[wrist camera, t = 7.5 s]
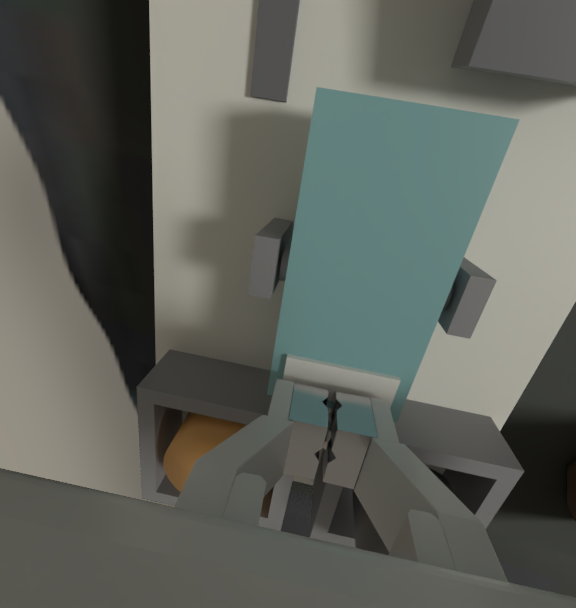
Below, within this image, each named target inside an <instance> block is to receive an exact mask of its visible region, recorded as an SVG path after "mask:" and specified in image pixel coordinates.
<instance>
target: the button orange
mask: <svg viewBox="0 0 576 608" xmlns="http://www.w3.org/2000/svg"><path fill="white" fill-rule="evenodd" d="M245 426H247V425H246V424H242V423H237V422H232V421H228V420H223V419H219V418H214V417H210V416H205V415H201V414H196V413H192V412H189V413H188V415H187V416H186V418H185V420H184V422H183V423H182V425H181V427H180V428H179V430H178V432H177V434H176V435H175V437H174V439H173V440H172V442H171V444H170V446H169V447H168V449H167V451H166V453H165V456H164V461H163V464H164V470H165V473H166V475H167V477H168V479H169V480H170V482H171V483H172V484H173V486H174V487H175V488H176V489H177V490H179V491H180V492H181V491H182V489H183V487H184V485H185V483H186V480H187V478H188V476H189V474H190V472H191V470H192V468H193V465H194V463H195V461H196V460H197V459H198V458H200V457H201V456H203V455H204V454H206V453H207V452H209V451H210V450H212V449H213V448H214V447H216V446H217V445H219V444H220V443H222V442H223V441H225V440H226V439H228V438H229V437H231V436H232V435H233V434H235V433H236V432H238V431H239V430H241V429H242V428H244V427H245Z"/></svg>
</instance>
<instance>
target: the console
mask: <svg viewBox="0 0 576 608" xmlns="http://www.w3.org/2000/svg"><path fill="white" fill-rule="evenodd" d="M473 1H474V0H149V17H150V72H151V128H152V183H153V239H154V294H155V350H156V365H155V366H154V368H153V369H152V370H151V371H150V372H149V373H148V374H147V376H146V377H145V378H144V379H143V380H142V381H141V382H140V383H139V385H138V386H137V404H138V424H139V442H140V443H139V445H140V465H141V485H142V498H143V499H147V500H151V501H155V502H160V503H164V504H168V505H172V506H175V504H176V502H177V500H178V498H179V495H180V493H181V492H180V491H179V490H177V489H176V488H175V487H174V486H173V484H172V483H171V482H170V480H169V479H168V477H167V475H166V473H165V470H164V464H163V461H164V456H165V453H166V451H167V449H168V447H169V446H170V444H171V442H172V440H173V439H174V437H175V435H176V434H177V432H178V430H179V428H180V427H181V425H182V423H183V422H184V420H185V418H186V416H187V415H188V413H189V412H192V413H196V414H201V415H205V416H210V417H214V418H219V419H223V420H228V421H232V422H237V423H242V424H246V425H248V424H250V423H251V422H252V421H254V420H255V419H257V418H258V417H260V416H261V415H266V416H267V415H268V411H269V407H270V403H271V399H272V395H268V394H267V390H268V384H269V378H270V372H271V366H272V359H273V353H274V347H275V341H276V335H277V329H278V322H279V316H280V310H281V304H282V298H283V291H284V285H285V281H280V280H279V275H280V267H281V261H282V256H283V252H284V249H285V246H286V245H291V242H292V236H293V230H294V224H295V217H296V211H297V205H298V199H299V193H300V186H301V180H302V174H303V168H304V162H305V156H306V149H307V143H308V137H309V131H310V125H311V119H312V112H313V106H314V100H315V94H316V88H317V87H320V88H326V89H333V90H339V91H345V92H351V93H358V94H364V95H370V96H376V97H383V98H389V99H395V100H401V101H408V102H414V103H420V104H426V105H433V106H439V107H445V108H451V109H458V110H464V111H470V112H476V113H483V114H489V115H495V116H501V117H507V118H514V119H520V120H519V122H518V125H517V127H516V130H515V132H514V135H513V137H512V140H511V142H510V145H509V147H508V150H507V152H506V154H505V157H504V159H503V162H502V164H501V167H500V169H499V172H498V174H497V177H496V179H495V182H494V184H493V187H492V189H491V191H490V194H489V196H488V199H487V201H486V204H485V206H484V209H483V211H482V214H481V216H480V219H479V221H478V223H477V226H476V228H475V231H474V233H473V236H472V238H471V241H470V243H469V246H468V248H467V251H466V253H465V256H464V258H463V260H462V263H461V265H460V268H459V270H458V273H457V275H456V278H455V280H454V283H453V292H452V296H451V299H450V302H449V304H448V306H447V307H446V309H445V310H443V311H442V312H441V315H440V317H439V320H438V322H437V324H436V327H435V329H434V332H433V334H432V337H431V339H430V342H429V344H428V347H427V349H426V352H425V354H424V357H423V359H422V361H421V364H420V366H419V369H418V371H417V374H416V376H415V379H414V381H413V384H412V386H411V389H410V391H409V393H408V396H407V398H406V401H405V403H404V406H403V408H402V411H401V413H400V416H399V418H398V421H397V422H394V425H395V429H396V432H397V436H398V440H399V443H401V444H405V445H406V446H407V447H408V448H409V449H410V450H411V451H412V452H413V453H414V454H415V455H416V456H417V457H418V458H419V459H420V460H421V461H422V462H423V463H424V464H425V465H426V466H427V467H428V468H431V469H433V470H435V471H437V472H438V473H440V474H441V475H443V476H444V477H445V478H446V479H447V480H448V481H449V483H450V484H451V486H452V488H453V491H454V493H455V496H456V497H457V498H458V499H459V500H460V501H461V502H462V503H463V504H464V505H465V506H466V507H467V508H468V509H469V510H470V511H471V512H472V513H473V514H474V515H475V516H476V517H477V518H478V519H479V520H480V521H481V522H482V523H483V526H484V528H485V529H486V528H487V526H488V525H489V523H490V522H491V520H492V519H493V517H494V516H495V514H496V513H497V511H498V510H499V508H500V507H501V505H502V504H503V502H504V501H505V499H506V498H507V496H508V495H509V493H510V492H511V490H512V489H513V488H514V486H515V485H516V483H517V482H518V480H519V479H520V477H521V476H522V474H523V473H524V470H523V468H522V466H521V465H520V463H519V462H518V460H517V458H516V457H515V455H514V454H513V452H512V450H511V449H510V447H509V446H508V444H507V442H506V441H505V439H504V437H503V436H502V434H501V433H500V430H501V429H502V427H503V425H504V424H505V422H506V420H507V418H508V417H509V415H510V413H511V412H512V410H513V408H514V406H515V405H516V403H517V401H518V400H519V398H520V396H521V394H522V393H523V391H524V389H525V388H526V386H527V384H528V382H529V381H530V379H531V377H532V375H533V374H534V372H535V370H536V369H537V367H538V365H539V363H540V362H541V360H542V358H543V357H544V355H545V353H546V351H547V350H548V348H549V346H550V345H551V343H552V341H553V339H554V338H555V336H556V334H557V333H558V331H559V329H560V327H561V326H562V324H563V322H564V321H565V319H566V317H567V315H568V314H569V312H570V310H571V308H572V307H573V305H574V303H575V302H576V86H570V85H564V84H557V83H551V82H544V81H538V80H531V79H525V78H518V77H512V76H505V75H499V74H492V73H485V72H479V71H472V70H466V69H459V68H453V67H451V65H452V62H453V59H454V56H455V53H456V50H457V47H458V44H459V42H460V39H461V36H462V33H463V30H464V27H465V24H466V21H467V18H468V15H469V13H470V10H471V7H472V4H473ZM327 408H328V407H327ZM330 412H331V408H328V414H329V413H330ZM324 455H325V449H324V448H322V449H321V450H319V463H318V467H317V470H316V474H315V478H314V480H313V479H307V478H302V477H296V476H291V475H286V474H283V476H282V477H281V478H280V479H279V481H278V482H277V483H276V484H275V485H274V486H273V487H272V489H271V490H270V491H269V492H268V493H267V494H266V495H265V496H264V498H263V503H262V509H261V514H260V519H259V525H258V526H260V527H265V528H269V529H273V530H277V531H280V530H281V526H282V522H283V518H284V514H285V509H286V505H287V501H288V497H289V493H290V489H291V484H292V481H296V482H301V483H305V484H310V485H313V494H312V510H311V526H310V538H313V539H318V540H322V541H326V542H331V543H335V544H340V545H344V546H349V547H353V548H355V531H354V513H353V496H352V495H353V489H350V488H346V487H342V486H338V485H334V484H330V483H326V482H323V459H324Z"/></svg>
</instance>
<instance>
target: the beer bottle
mask: <svg viewBox="0 0 576 608" xmlns="http://www.w3.org/2000/svg"><path fill="white" fill-rule="evenodd" d="M567 504H568V509H569V510H570V512H571V514H572V515H573V517H574V519H575V520H576V460H575V461H573V462H572V463H571V464H569V465H568V466H567Z"/></svg>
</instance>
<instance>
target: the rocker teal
mask: <svg viewBox="0 0 576 608" xmlns="http://www.w3.org/2000/svg"><path fill="white" fill-rule="evenodd" d="M519 120H520V119H514V118H507V117H501V116H495V115H489V114H483V113H476V112H470V111H464V110H458V109H451V108H445V107H439V106H433V105H426V104H420V103H414V102H408V101H401V100H395V99H389V98H383V97H376V96H370V95H364V94H358V93H351V92H345V91H339V90H333V89H326V88H320V87H317V88H316V94H315V100H314V106H313V112H312V119H311V125H310V131H309V137H308V143H307V149H306V156H305V162H304V168H303V174H302V180H301V186H300V193H299V199H298V205H297V211H296V217H295V224H294V230H293V236H292V242H291V245H286V246H285V249H284V252H283V256H282V261H281V267H280V275H279V280H280V281H285V285H284V291H283V298H282V304H281V310H280V316H279V322H278V329H277V335H276V341H275V347H274V353H273V359H272V366H271V372H270V378H269V384H268V390H267V394H268V395H273V391H274V387H275V383H276V380H277V378H278V379H283V380H288V381H293V382H297V383H302V384H306V385H311V386H315V387H320V388H324V389H328V400H327V404H326V407H328V408H331V400H332V397H333V394H334V391H337V392H342V393H347V394H352V395H357V396H362V397H368V398H369V397H371V398H377V399H382V400H386V401H387V402H388V403H389V407H390V410H391V414H392V418H393V421H394V422H397V421H398V418H399V416H400V413H401V411H402V408H403V406H404V403H405V401H406V398H407V396H408V393H409V391H410V389H411V386H412V384H413V381H414V379H415V376H416V374H417V371H418V369H419V366H420V364H421V361H422V359H423V357H424V354H425V352H426V349H427V347H428V344H429V342H430V339H431V337H432V334H433V332H434V329H435V327H436V324H437V322H438V320H439V317H440V315H441V312H442V311H443V310H445V309H446V307H447V306H448V304H449V302H450V299H451V296H452V292H453V283H454V280H455V278H456V275H457V273H458V270H459V268H460V265H461V263H462V260H463V258H464V256H465V253H466V251H467V248H468V246H469V243H470V241H471V238H472V236H473V233H474V231H475V228H476V226H477V223H478V221H479V219H480V216H481V214H482V211H483V209H484V206H485V204H486V201H487V199H488V196H489V194H490V191H491V189H492V187H493V184H494V182H495V179H496V177H497V174H498V172H499V169H500V167H501V164H502V162H503V159H504V157H505V154H506V152H507V150H508V147H509V145H510V142H511V140H512V137H513V135H514V132H515V130H516V127H517V125H518V122H519Z"/></svg>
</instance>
